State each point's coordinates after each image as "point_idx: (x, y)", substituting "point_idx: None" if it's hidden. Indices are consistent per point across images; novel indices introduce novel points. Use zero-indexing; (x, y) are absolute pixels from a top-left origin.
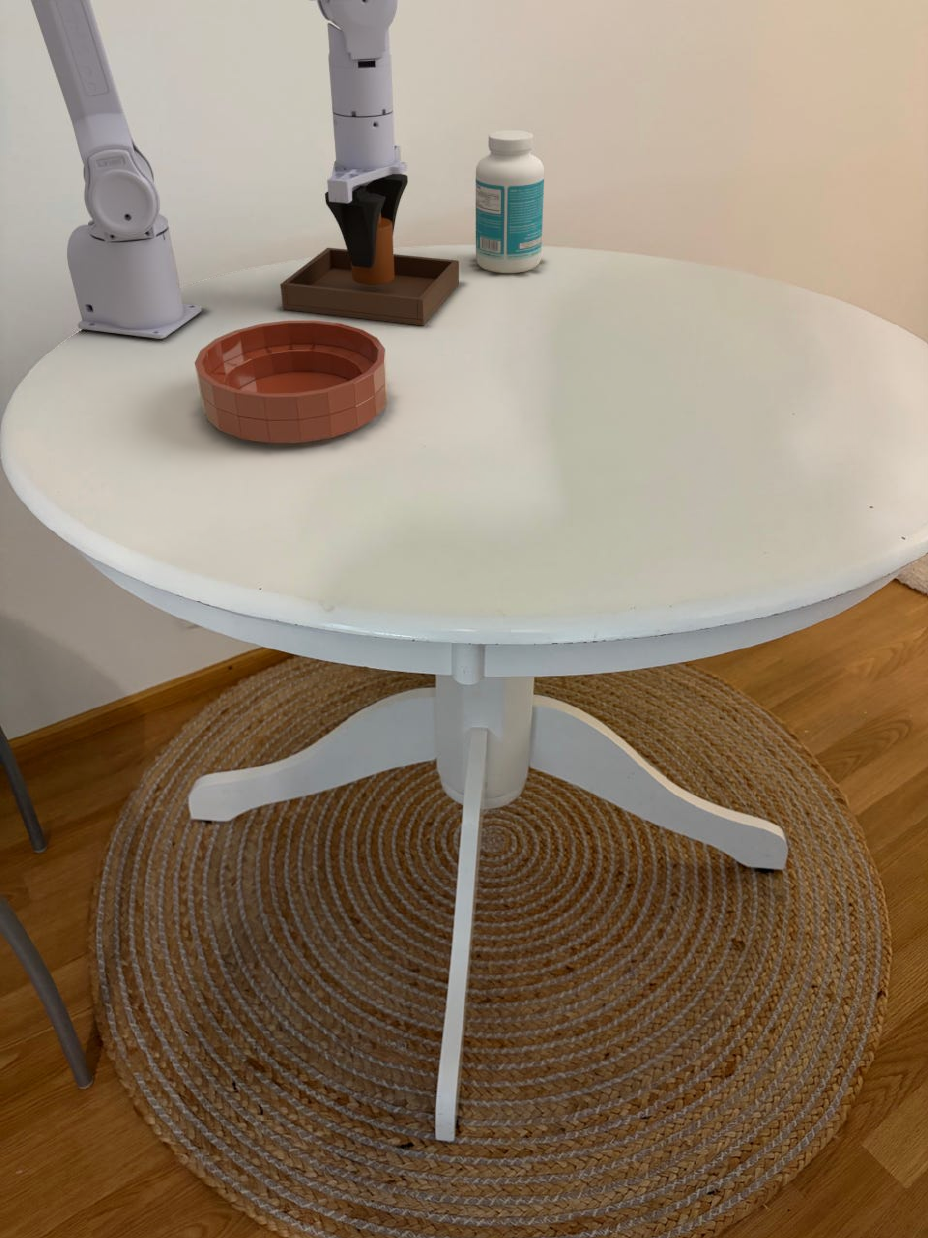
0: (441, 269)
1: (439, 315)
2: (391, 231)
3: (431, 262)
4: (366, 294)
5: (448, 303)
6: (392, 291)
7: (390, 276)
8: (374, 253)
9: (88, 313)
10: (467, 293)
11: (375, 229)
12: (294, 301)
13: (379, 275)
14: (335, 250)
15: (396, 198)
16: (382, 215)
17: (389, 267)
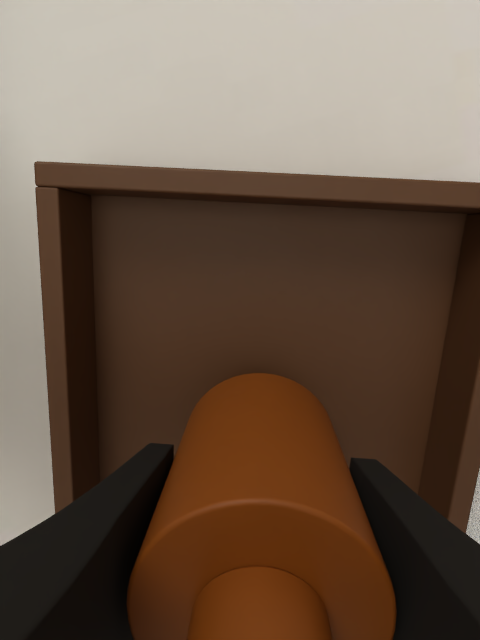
0: (77, 236)
1: (374, 168)
2: (258, 472)
3: (69, 278)
4: None
5: (260, 166)
6: (250, 365)
7: (286, 382)
8: (380, 479)
9: None
10: (150, 123)
11: (462, 563)
12: None
13: (326, 417)
14: None
15: (46, 615)
16: (114, 590)
17: (290, 398)
